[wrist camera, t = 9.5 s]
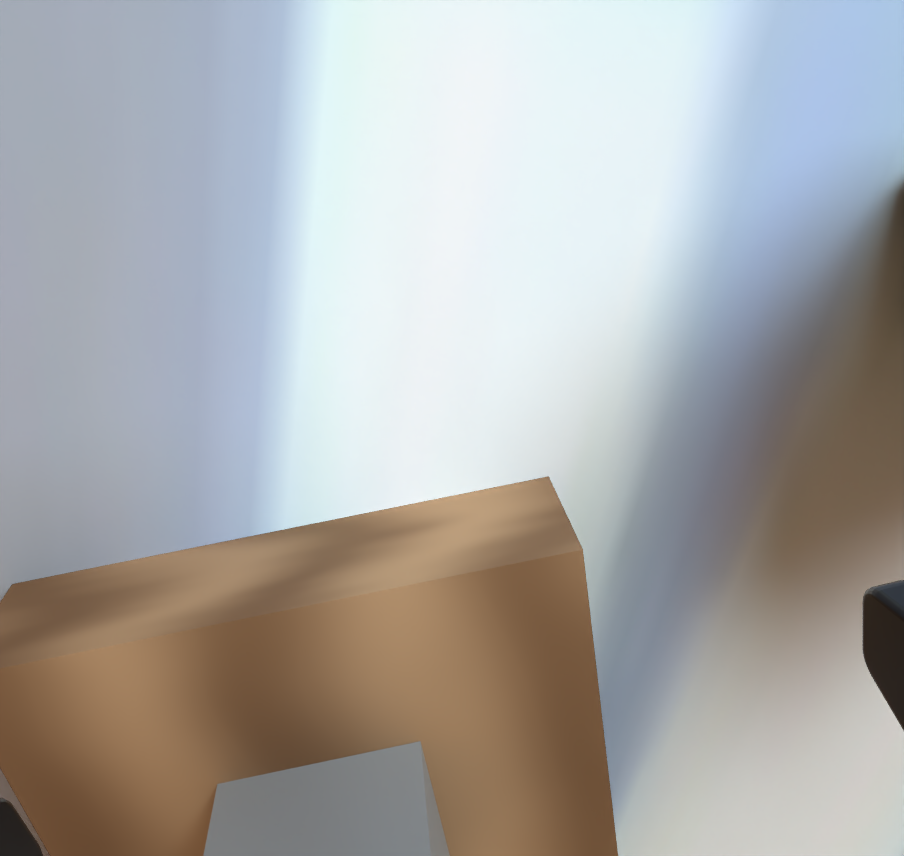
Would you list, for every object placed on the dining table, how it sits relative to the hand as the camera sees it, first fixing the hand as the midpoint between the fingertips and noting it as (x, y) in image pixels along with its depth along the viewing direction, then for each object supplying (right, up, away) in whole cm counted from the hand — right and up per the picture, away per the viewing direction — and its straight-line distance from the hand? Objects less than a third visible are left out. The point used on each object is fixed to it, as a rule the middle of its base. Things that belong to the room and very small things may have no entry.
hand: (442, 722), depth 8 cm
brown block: (-3, -6, +16) cm, 17 cm away
